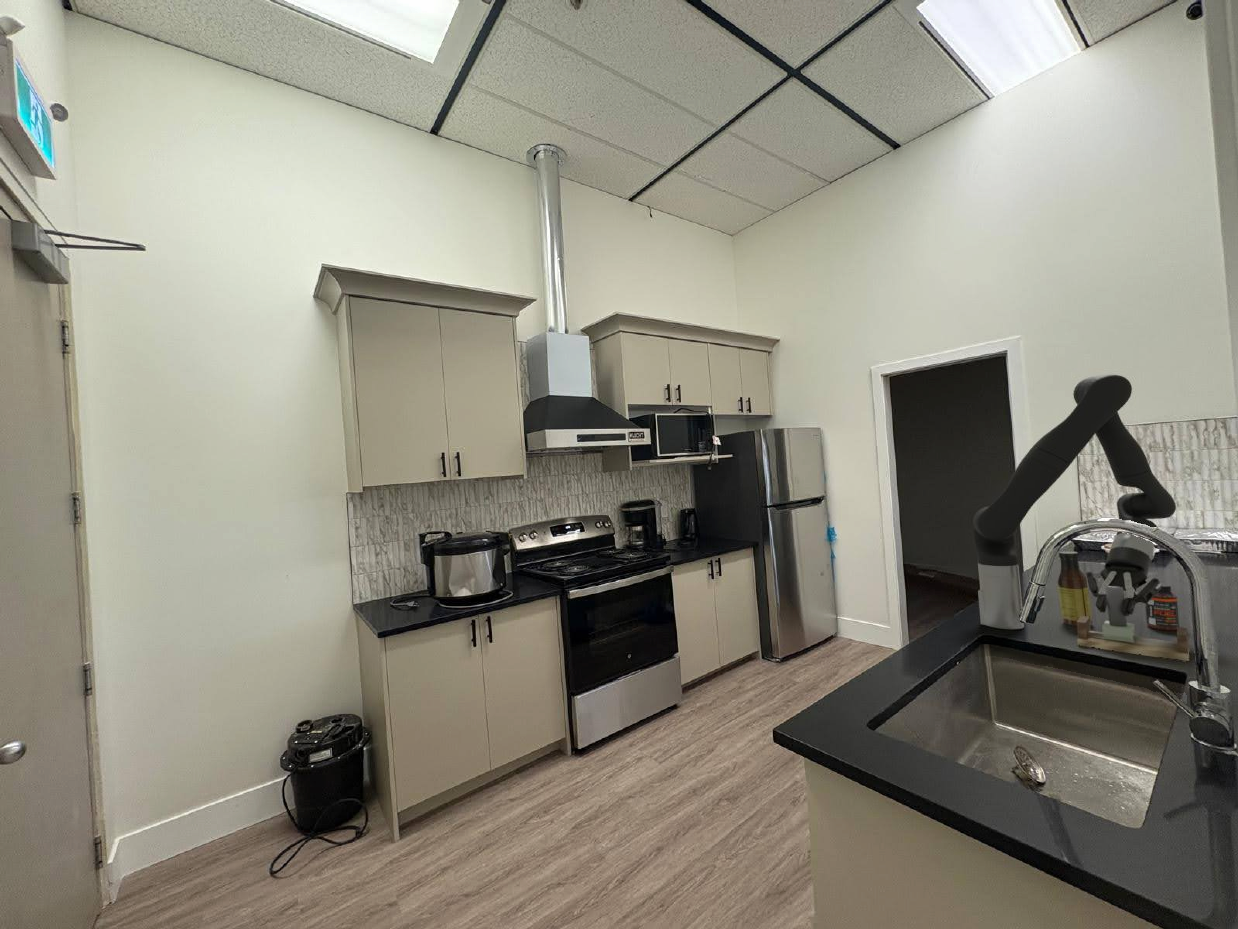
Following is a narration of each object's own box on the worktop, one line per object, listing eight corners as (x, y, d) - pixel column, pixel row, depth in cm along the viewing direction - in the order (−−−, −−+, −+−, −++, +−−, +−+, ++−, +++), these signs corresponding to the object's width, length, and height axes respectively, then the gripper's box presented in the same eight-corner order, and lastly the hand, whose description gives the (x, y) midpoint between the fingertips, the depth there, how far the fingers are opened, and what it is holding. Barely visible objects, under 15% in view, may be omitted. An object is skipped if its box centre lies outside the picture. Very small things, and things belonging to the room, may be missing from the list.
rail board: (1078, 645, 124) (1075, 622, 124) (1084, 637, 130) (1082, 615, 130) (1188, 661, 110) (1185, 636, 111) (1189, 651, 116) (1187, 627, 116)
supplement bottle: (1154, 630, 132) (1150, 586, 132) (1142, 624, 137) (1137, 582, 138) (1186, 631, 129) (1181, 587, 130) (1171, 625, 135) (1167, 582, 135)
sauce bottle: (1080, 621, 143) (1073, 550, 144) (1099, 627, 137) (1092, 552, 138) (1055, 621, 144) (1048, 551, 145) (1073, 628, 137) (1065, 554, 138)
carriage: (1103, 639, 122) (1098, 588, 122) (1106, 634, 125) (1101, 584, 126) (1133, 643, 118) (1127, 590, 118) (1135, 637, 122) (1130, 586, 122)
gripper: (1087, 543, 132) (1069, 597, 126) (1164, 548, 120) (1147, 608, 114) (1099, 561, 134) (1081, 615, 128) (1176, 568, 122) (1160, 628, 116)
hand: (1112, 612), depth 121 cm, fingers open, 3 cm apart
